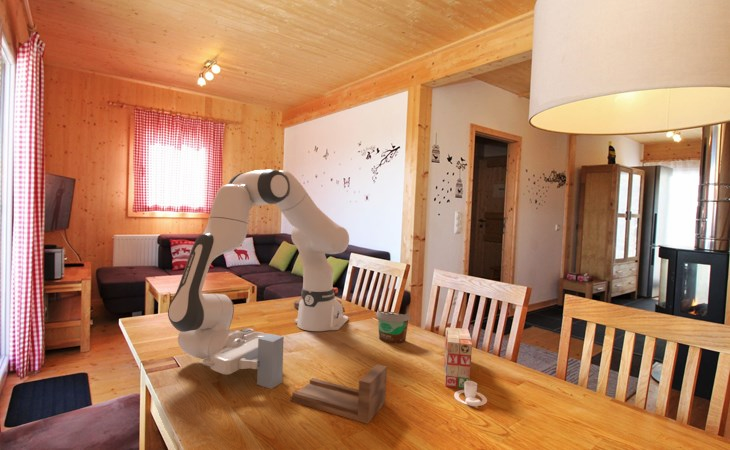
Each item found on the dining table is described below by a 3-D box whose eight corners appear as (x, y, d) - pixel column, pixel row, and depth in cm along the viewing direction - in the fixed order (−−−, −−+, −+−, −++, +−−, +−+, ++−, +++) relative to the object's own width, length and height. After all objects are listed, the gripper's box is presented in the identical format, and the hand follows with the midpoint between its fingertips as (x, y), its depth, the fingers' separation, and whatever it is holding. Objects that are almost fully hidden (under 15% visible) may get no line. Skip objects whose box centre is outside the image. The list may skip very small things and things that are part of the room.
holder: (313, 384, 103) (314, 350, 102) (384, 403, 95) (386, 366, 94) (290, 401, 94) (292, 364, 93) (368, 423, 86) (369, 383, 85)
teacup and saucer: (480, 412, 93) (481, 395, 93) (448, 402, 97) (449, 386, 97) (490, 397, 101) (491, 382, 100) (460, 388, 105) (461, 373, 105)
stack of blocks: (443, 356, 126) (446, 317, 125) (464, 358, 125) (466, 319, 124) (445, 386, 105) (447, 341, 104) (469, 389, 104) (472, 343, 103)
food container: (369, 340, 136) (371, 312, 136) (376, 335, 142) (377, 308, 141) (404, 347, 132) (405, 317, 131) (409, 341, 138) (410, 313, 137)
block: (268, 377, 106) (269, 333, 105) (282, 381, 104) (283, 336, 103) (257, 384, 101) (258, 338, 101) (271, 388, 100) (272, 341, 99)
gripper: (198, 349, 98) (242, 360, 93) (253, 326, 117) (293, 334, 111) (198, 374, 99) (241, 386, 93) (253, 347, 117) (292, 356, 112)
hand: (270, 358), depth 102 cm, fingers open, 8 cm apart
